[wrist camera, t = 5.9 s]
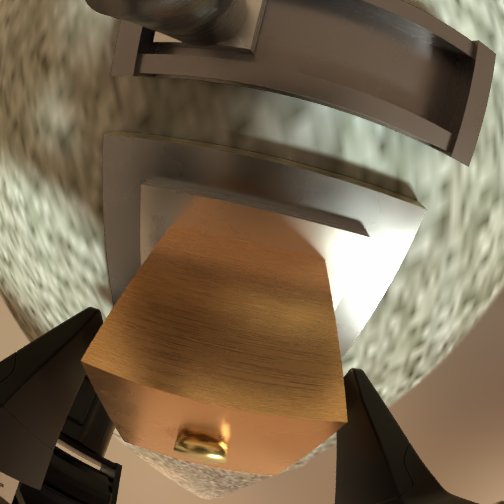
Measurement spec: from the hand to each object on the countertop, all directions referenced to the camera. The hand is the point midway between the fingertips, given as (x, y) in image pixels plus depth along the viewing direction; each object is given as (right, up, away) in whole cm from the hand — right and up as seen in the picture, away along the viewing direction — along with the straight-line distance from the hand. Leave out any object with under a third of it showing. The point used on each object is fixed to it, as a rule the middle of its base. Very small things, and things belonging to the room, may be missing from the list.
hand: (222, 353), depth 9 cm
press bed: (0, +2, +3) cm, 4 cm away
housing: (0, +1, +2) cm, 3 cm away
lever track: (+3, +10, -2) cm, 11 cm away
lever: (0, +10, -3) cm, 11 cm away
